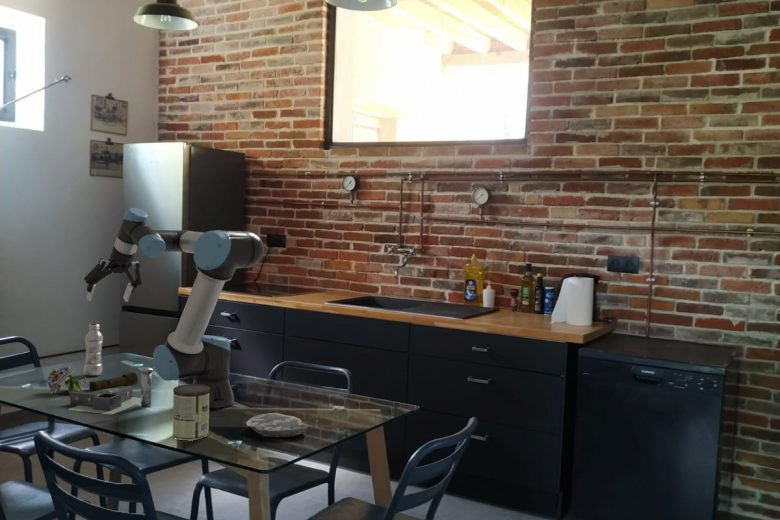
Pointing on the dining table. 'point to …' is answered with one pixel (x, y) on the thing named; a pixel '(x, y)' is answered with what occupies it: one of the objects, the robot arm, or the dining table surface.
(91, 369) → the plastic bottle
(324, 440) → the dining table surface
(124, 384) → the hand tool
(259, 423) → the brain slice
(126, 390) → the bolted dark bar
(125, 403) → the mat
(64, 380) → the passion flower
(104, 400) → the hinge base
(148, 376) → the hinge pin
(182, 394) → the coffee can
